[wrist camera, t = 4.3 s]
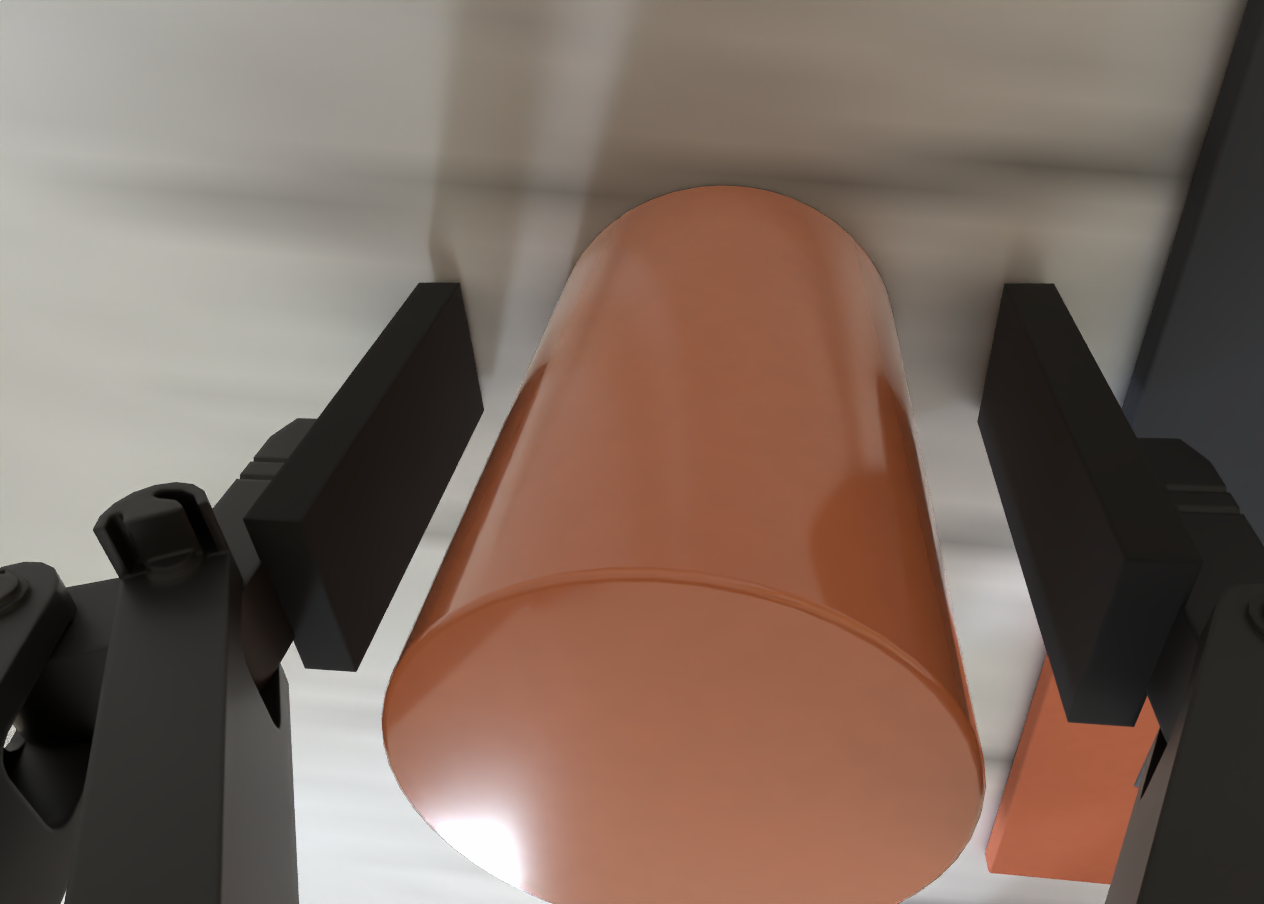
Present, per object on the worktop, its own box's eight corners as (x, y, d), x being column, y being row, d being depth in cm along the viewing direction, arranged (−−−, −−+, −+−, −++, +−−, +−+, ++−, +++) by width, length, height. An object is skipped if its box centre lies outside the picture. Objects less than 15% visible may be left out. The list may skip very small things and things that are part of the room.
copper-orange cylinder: (575, 473, 18) (440, 911, 11) (538, 186, 15) (306, 556, 8) (876, 483, 17) (940, 967, 10) (913, 180, 14) (1050, 593, 7)
